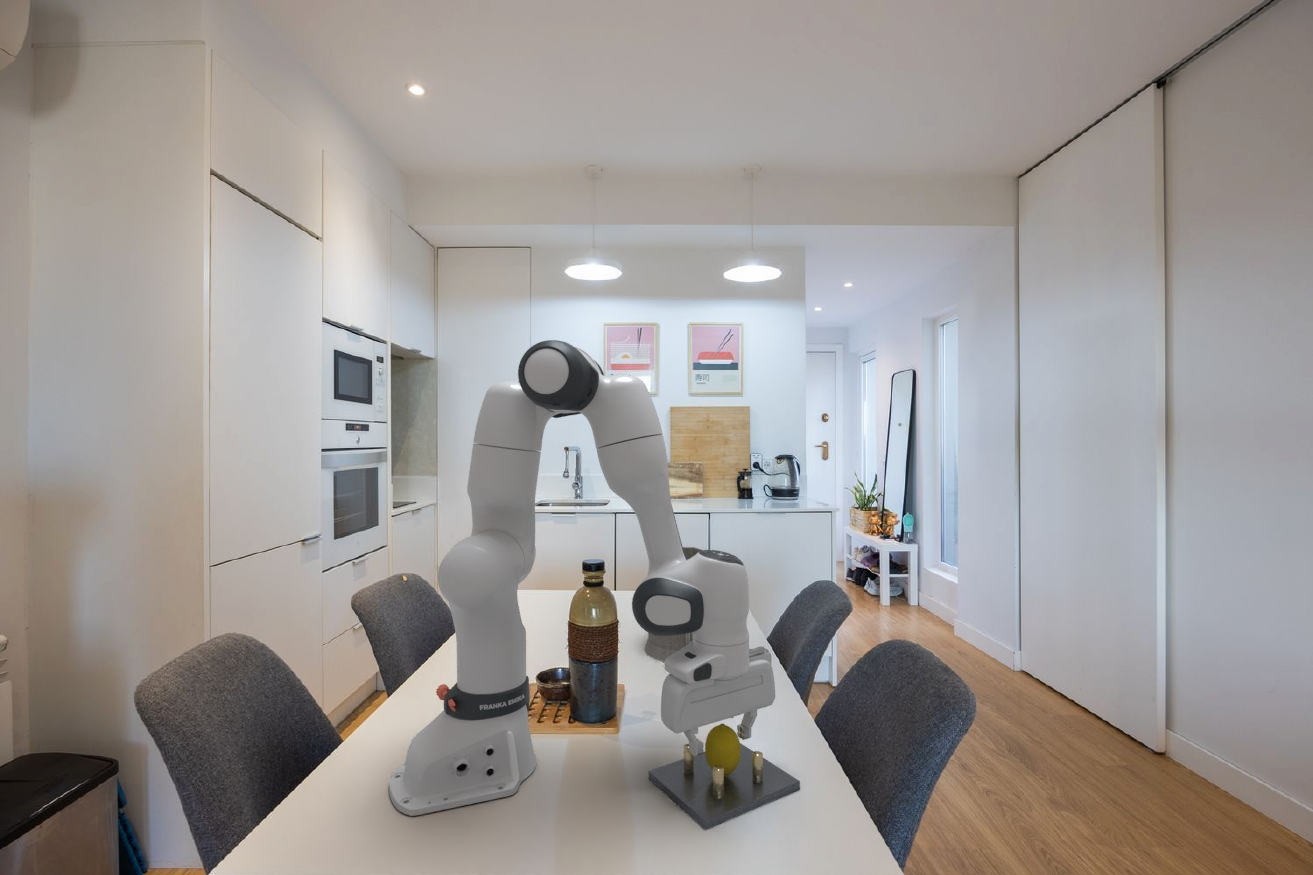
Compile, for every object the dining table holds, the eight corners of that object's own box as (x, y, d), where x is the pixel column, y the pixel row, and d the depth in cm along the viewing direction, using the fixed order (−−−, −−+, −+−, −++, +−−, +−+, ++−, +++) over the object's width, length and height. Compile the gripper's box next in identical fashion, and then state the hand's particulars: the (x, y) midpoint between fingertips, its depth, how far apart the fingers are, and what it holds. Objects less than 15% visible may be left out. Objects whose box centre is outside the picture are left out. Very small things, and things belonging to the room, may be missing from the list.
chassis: (705, 829, 81) (704, 791, 81) (648, 778, 93) (648, 745, 93) (799, 788, 90) (799, 754, 90) (736, 747, 103) (736, 717, 103)
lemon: (737, 765, 95) (736, 715, 95) (744, 785, 89) (743, 731, 89) (702, 767, 94) (702, 716, 95) (707, 786, 89) (707, 733, 89)
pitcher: (730, 635, 165) (729, 546, 166) (739, 679, 134) (738, 568, 134) (648, 634, 167) (647, 546, 167) (637, 678, 135) (636, 568, 136)
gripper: (757, 639, 100) (757, 721, 100) (655, 661, 90) (655, 753, 89) (784, 649, 95) (784, 736, 95) (678, 675, 84) (678, 773, 84)
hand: (720, 745), depth 92 cm, fingers open, 8 cm apart
